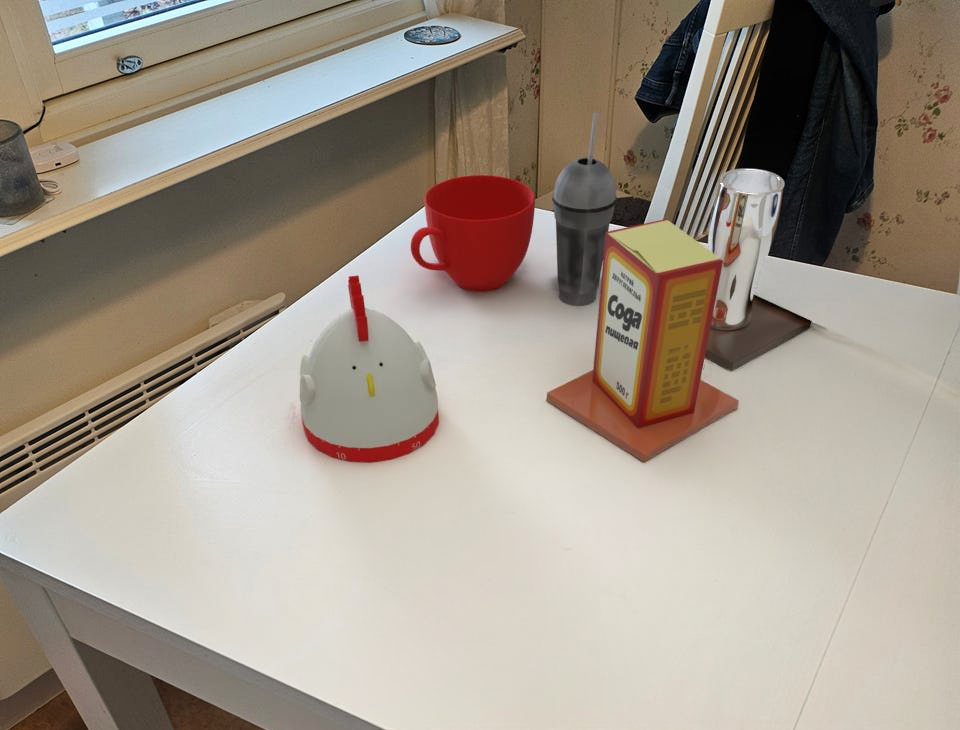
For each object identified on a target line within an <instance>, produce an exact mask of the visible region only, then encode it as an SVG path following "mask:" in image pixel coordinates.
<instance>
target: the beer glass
mask: <svg viewBox="0 0 960 730" xmlns="http://www.w3.org/2000/svg"><path fill="white" fill-rule="evenodd" d="M784 189H785V180H784V179H783V178H782V177H781V176H780V175H778V174H776V173H774V172H772V171H769V170H766V169H759V168H735V169H731V170H728V171H726V172H724V173H722V174H721V175H720V177H719V181H718V186H717V190H716V193H715V196H714V201H713V205H712V209H711V214H710V220H709V227H708V236H707V237H708V238H707V249H708V250H709V251H711V252H712V253H713V254H715V255H716V256H717V257H719V258H720V259H721V260H723V264H722V269H721V275H720V280H719V285H718V290H717V296H716V301H715V306H714V311H713V316H712V322H711V327H712V328H715V329H720V330H737V329H741V328H743V327H745V326H747V325H748V324H749V323H750V322H751V319H752V305H753V294H754V295H755V290H756V287H757V282H758V280H759V277H760V275H761V272H762V270H763V268H764V265H765V263H766V260H767V258H768V256H769V254H770V250H771V248H772V245H773V243H774V240H775V236H776V232H777V228H778V224H779V220H780V214H781V209H782V201H783V194H784Z"/></svg>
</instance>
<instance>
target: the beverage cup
mask: <svg viewBox="0 0 960 730" xmlns="http://www.w3.org/2000/svg"><path fill="white" fill-rule="evenodd" d="M598 120H599V111H593V115H592V122H591V123H592V124H591V131H590V140H589V146H588V154H587V155H588V156H587V157H581V158H577V159H574V160H573V161H571V162H570V163H568V164H567V165H566V166H565V167H564V168H563V169H562V170H561V172H560V173H559V175H558V177H557V178H556V181H555V185H554V189H553V193H552V198H551V202H552V203H553V207H552V208H553V217H554V219H555V235H556V236H555V238H556V241H555V242H556V269H557V271H556V272H557V286H558V298H559V300H560V302H562V303H564V304H566V305H570V306H576V307H582V306H587V305H591V304H592V303H595V301H596V299H597V293H598V288H599V285H600V281H601V276H602V267H603V256H604V245H605V234H606V232H608V231H610V230H609V229H610V223H611V221H612V219H613V216H614V213H615V207H616V204H617V203H618V201H617V200H618V197H617V187H616V182H615V178H614V176H613V174H612V172H611V171H610V169H609V168H608V166H607V165H605V163H603V162H602V161H600V160H598V159H596V158H593V157H594V149H595V142H596V134H597V127H598Z"/></svg>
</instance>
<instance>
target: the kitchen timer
mask: <svg viewBox="0 0 960 730" xmlns="http://www.w3.org/2000/svg"><path fill="white" fill-rule="evenodd" d="M347 281H348V284H347V287H348V288H347V289H348V296H349V302H350V306H351V307H350V309H347V310H345V311H343V312H341V313H339V314H338V315H337V316H336V317H334V318H333V319H331V321H329V322H328V324H326V326H325V327H324V328H323V329H322V331H321V333H320V334H319V336H317V338H316V340H315V342H314V344H313V346H312V348H311V350H310V352H309V355H306V354H303V355H302V357H301V359H300V360H301V361H300V369H299V400H300V401H299V402H300V417H301V423H302V428H303V431H304V434H305V436H306V439H307V441H308V442H309V443H310V444H311V446H313V447H314V448H315V449H316V450H317V451H318V452H321V453H322V454H325V455H326V456H329V457H331V458H333V459H337V460H342V461H347V462H355V463H374V462H382V461H383V462H384V461H390V460H394V459H396V458H400V457H402V456H406V455H409V454H411V453H413V452H414V451H416V450H418V449H419V448H421V447H424V446H425V445H426V444H427V443H428V442H429V440H430V439H432V438H433V436H434V435H435V434H436V431H437V429H438V427H439V424H440V419H439V417H440V416H439V400H438V393H437V388H436V387H437V384H436V380H435V376H434V372H433V369H432V365H431V361H430V359H429V357H428V355H427V353H426V350H425V349H424V346H423V345H422V342H420V341H419V340H417V341H416V342H415V341H414V340H413V339H412V337H411V336H410V334H408V332H407V331H406V330H405V329H404V328H403V327H402V326H401V325H400V324H399V323H397V322H396V321H395V320H394V319H392V318H391V317H389V316H388V315H386V314H384V313H383V312H380V311H378V310H375V309H372V308H368V307H365V306H366V305H365V298H364V294H363V291H362V285H361V282H360V276H359V275H350V276H348V280H347Z"/></svg>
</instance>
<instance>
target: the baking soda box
mask: <svg viewBox="0 0 960 730" xmlns="http://www.w3.org/2000/svg"><path fill="white" fill-rule="evenodd" d="M722 264H723V260H721V259H720V258H719V257H717V256H716V255H715V254H713V253H712V252H711V251H709V250H708V248H707V247H706V246H704V245H703V244H701V243H700V242H698V241H697V240H696V239H694V237H692V236H690V235H689V234H688V233H686V232H684V231H683V230H682V229H681V228H679V227H678V226H676V225H675V224H674V223H672V222H671V221H670V220H668V219H667V218H665V219H661V220H660V219H659V220H655V221H650V222H646V223H641V224H637V225H636V224H635V225H631V226H627V227H622V228H618V229H613V230H608V232H606V234H605V245H604V256H603V263H602V269H601V277H600V289H599V299H598V300H599V301H598V313H597V324H596V336H595V347H594V356H593V369H592V370H593V378H592V381H593V382H594V383H595V384H596V385H597V386H598V387H599V388H600V389H601V390H602V391H603V393H604V394H605V395H606V396H607V397H608V398H609V399H610V400H611V401H612V402H613V403H614V404H615V405H616V406H617V407H618V408H619V409H620V410H621V411H622V412H623V413H624V414H625V415H626V417H627V418H628V419H629V420H630V421H631V422H632V423H633V424H634V425H635V426H636V427H637V428H641V427H645V426H649V425H652V424H656V423H659V422H663V421H666V420H670V419H673V418H677V417H680V416H684V415H688V414H691V413H694V411H695V405H696V400H697V395H698V390H699V384H700V380H702V379H701V378H702V373H703V369H704V363H705V359H706V358H705V353H706V348H707V343H708V337H709V332H710V327H711V322H712V316H713V311H714V306H715V301H716V296H717V290H718V285H719V280H720V275H721V269H722Z"/></svg>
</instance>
